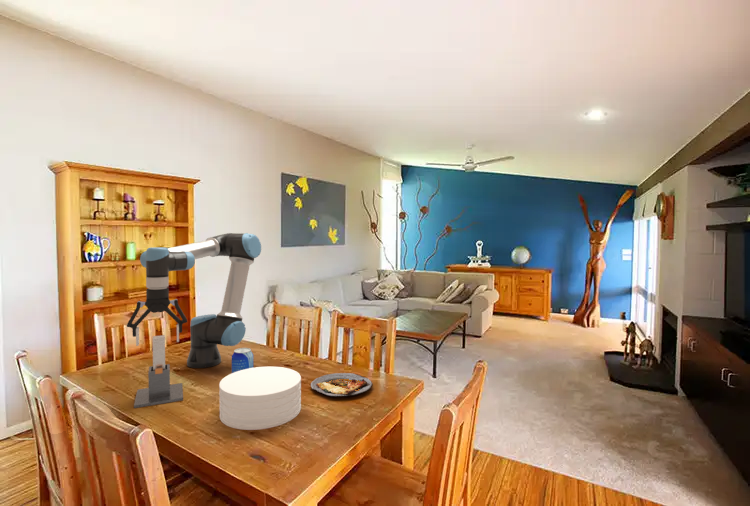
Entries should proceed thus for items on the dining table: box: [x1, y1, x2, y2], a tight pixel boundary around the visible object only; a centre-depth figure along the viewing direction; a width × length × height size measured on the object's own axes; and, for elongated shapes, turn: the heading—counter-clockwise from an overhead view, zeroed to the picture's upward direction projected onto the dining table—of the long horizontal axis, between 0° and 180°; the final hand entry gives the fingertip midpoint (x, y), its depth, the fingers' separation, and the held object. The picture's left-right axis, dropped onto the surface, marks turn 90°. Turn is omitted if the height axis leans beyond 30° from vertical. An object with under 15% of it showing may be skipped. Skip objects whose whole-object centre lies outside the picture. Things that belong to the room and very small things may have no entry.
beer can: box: [231, 347, 254, 374], centre depth 163 cm, size 8×8×16 cm
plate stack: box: [218, 365, 302, 431], centre depth 144 cm, size 28×28×12 cm
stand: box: [133, 363, 184, 409], centre depth 155 cm, size 16×16×12 cm
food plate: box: [310, 372, 373, 398], centre depth 165 cm, size 25×23×4 cm
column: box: [152, 334, 166, 371], centre depth 154 cm, size 5×5×22 cm
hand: (158, 343), depth 154 cm, fingers open, 13 cm apart
